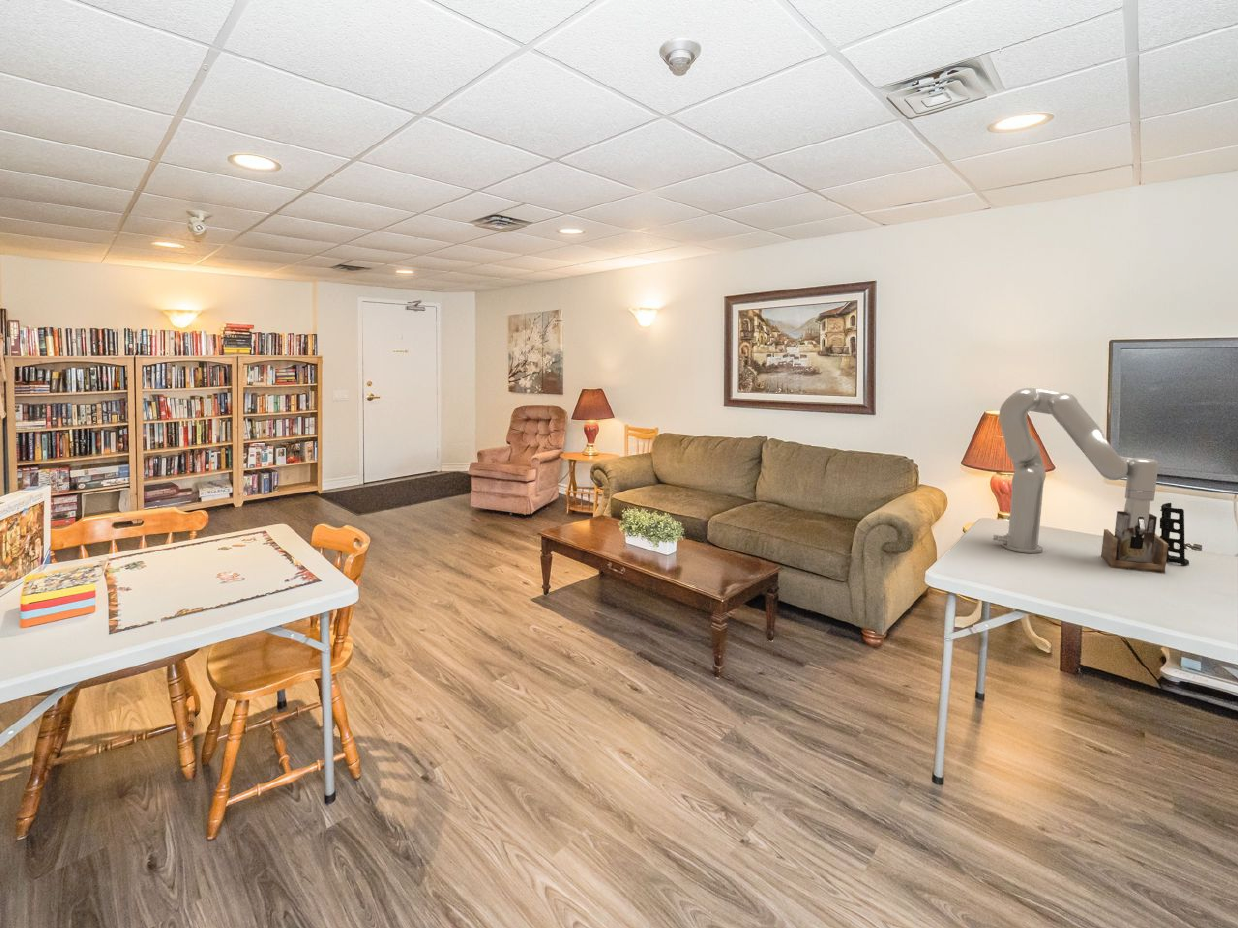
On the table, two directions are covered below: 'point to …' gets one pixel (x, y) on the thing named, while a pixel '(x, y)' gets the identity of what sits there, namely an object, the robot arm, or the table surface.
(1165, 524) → the holder
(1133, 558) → the coffee box
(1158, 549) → the cradle
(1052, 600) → the table surface
